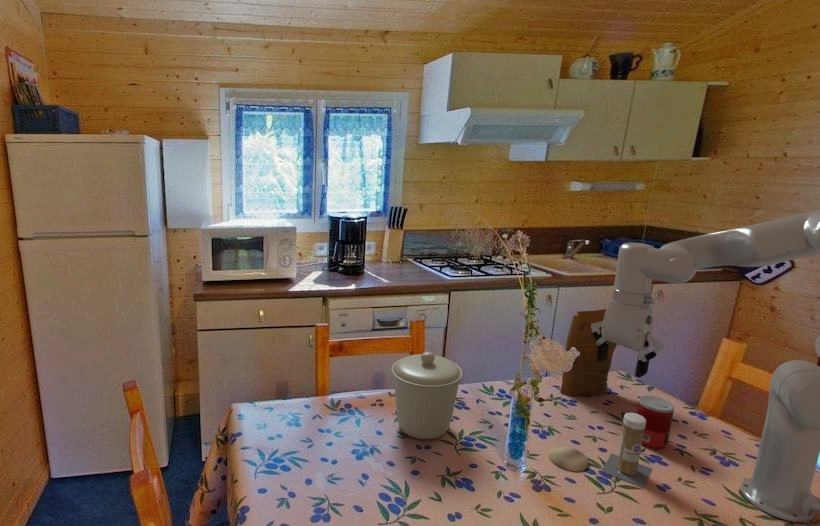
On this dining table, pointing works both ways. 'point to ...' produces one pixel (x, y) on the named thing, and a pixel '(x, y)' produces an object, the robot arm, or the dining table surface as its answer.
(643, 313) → the robot arm
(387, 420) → the dining table surface
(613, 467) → the tile
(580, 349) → the pancake mix bag
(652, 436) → the canned food
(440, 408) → the canister
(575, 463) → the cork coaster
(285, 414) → the dining table surface
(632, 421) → the sprinkles bottle
